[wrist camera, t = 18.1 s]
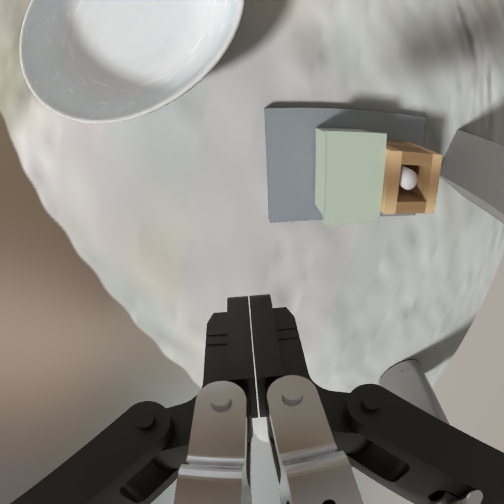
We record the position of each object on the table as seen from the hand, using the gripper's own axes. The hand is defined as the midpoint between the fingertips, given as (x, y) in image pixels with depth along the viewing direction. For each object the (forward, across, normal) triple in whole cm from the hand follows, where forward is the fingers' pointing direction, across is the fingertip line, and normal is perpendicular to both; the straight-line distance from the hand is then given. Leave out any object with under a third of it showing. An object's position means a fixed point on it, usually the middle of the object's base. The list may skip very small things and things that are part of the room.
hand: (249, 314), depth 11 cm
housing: (+21, -10, 0) cm, 23 cm away
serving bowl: (+22, +9, -17) cm, 29 cm away
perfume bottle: (+22, -29, -1) cm, 36 cm away
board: (+22, -12, 0) cm, 25 cm away
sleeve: (+21, -16, 0) cm, 26 cm away
